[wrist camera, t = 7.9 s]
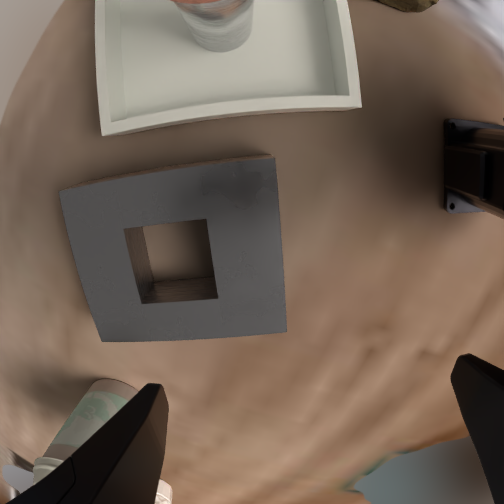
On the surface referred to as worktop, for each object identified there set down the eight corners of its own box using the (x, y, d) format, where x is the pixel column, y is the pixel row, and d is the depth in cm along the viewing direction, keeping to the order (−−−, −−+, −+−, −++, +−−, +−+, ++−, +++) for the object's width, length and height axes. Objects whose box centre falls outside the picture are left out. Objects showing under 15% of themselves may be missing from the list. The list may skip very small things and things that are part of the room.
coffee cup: (151, 368, 23) (110, 497, 12) (172, 432, 26) (153, 540, 15) (64, 362, 23) (5, 464, 12) (95, 424, 26) (60, 517, 15)
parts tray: (320, -43, 13) (331, -66, 10) (343, 110, 17) (362, 107, 14) (115, -19, 13) (97, -37, 10) (123, 134, 17) (101, 136, 14)
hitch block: (270, 154, 18) (275, 158, 15) (281, 306, 21) (287, 332, 19) (81, 182, 18) (58, 191, 15) (116, 318, 22) (101, 341, 19)
